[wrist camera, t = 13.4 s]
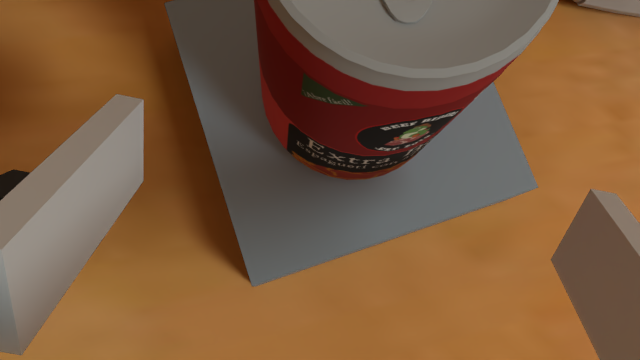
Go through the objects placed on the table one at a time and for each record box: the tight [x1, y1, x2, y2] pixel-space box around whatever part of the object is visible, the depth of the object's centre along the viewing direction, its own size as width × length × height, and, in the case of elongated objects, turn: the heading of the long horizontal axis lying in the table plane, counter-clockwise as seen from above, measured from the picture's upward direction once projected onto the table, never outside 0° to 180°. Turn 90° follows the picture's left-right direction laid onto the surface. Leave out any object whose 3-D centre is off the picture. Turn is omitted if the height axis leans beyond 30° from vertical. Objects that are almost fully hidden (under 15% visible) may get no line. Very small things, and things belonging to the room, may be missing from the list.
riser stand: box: [164, 0, 538, 286], centre depth 24 cm, size 13×13×3 cm
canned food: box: [254, 0, 559, 180], centre depth 17 cm, size 8×8×11 cm
